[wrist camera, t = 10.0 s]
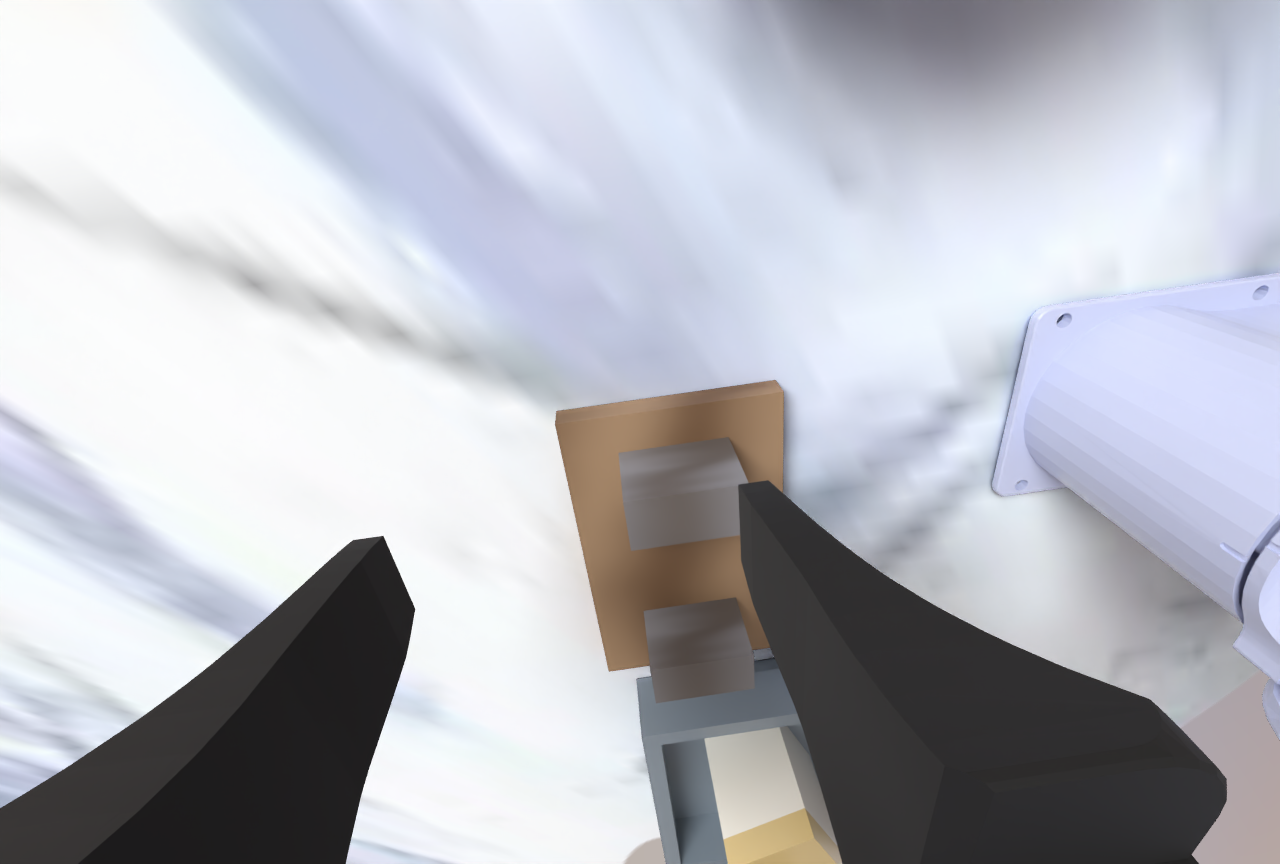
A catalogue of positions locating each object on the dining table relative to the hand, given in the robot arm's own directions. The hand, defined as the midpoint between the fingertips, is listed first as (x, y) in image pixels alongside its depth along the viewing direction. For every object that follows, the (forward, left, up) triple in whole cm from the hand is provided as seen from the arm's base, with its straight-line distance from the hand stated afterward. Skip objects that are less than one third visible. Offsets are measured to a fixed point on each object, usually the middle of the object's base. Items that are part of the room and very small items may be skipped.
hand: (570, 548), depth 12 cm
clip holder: (-3, +8, -9) cm, 13 cm away
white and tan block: (-6, +23, -9) cm, 25 cm away
